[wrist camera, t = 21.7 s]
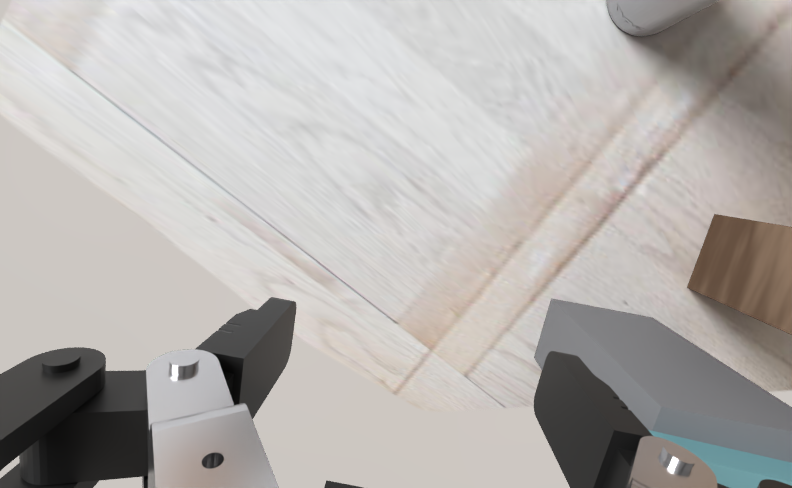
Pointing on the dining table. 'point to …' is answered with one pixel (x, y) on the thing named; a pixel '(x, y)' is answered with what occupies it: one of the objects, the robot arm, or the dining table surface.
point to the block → (735, 463)
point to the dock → (669, 380)
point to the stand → (748, 269)
